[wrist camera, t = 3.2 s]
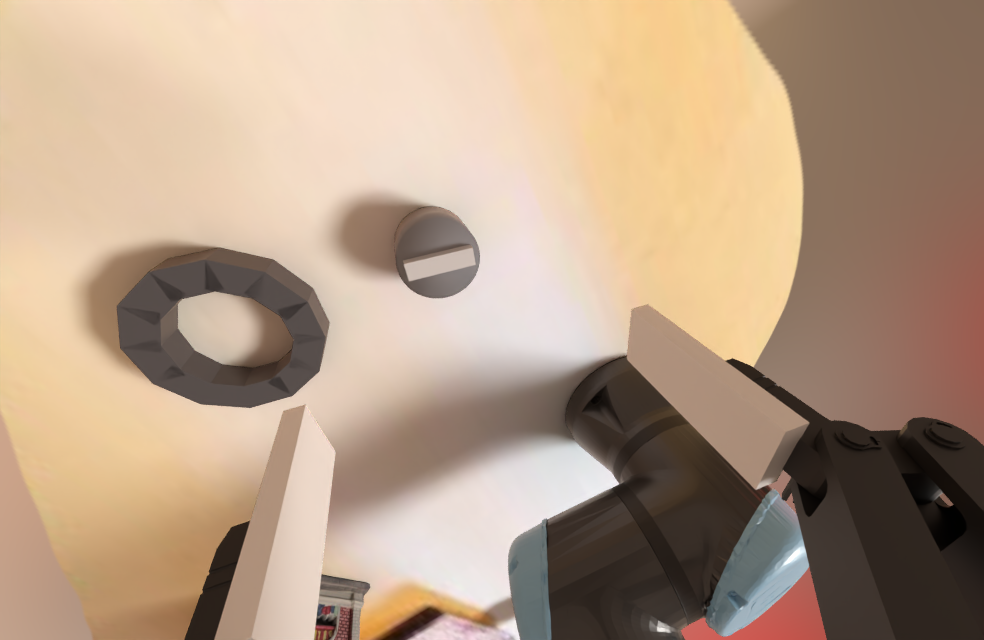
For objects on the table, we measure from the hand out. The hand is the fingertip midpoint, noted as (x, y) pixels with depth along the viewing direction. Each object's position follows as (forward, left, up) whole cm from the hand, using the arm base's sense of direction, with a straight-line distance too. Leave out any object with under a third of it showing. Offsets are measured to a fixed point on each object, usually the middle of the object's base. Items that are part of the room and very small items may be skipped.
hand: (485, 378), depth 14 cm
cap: (0, +1, -19) cm, 19 cm away
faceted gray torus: (+17, +4, -19) cm, 25 cm away
